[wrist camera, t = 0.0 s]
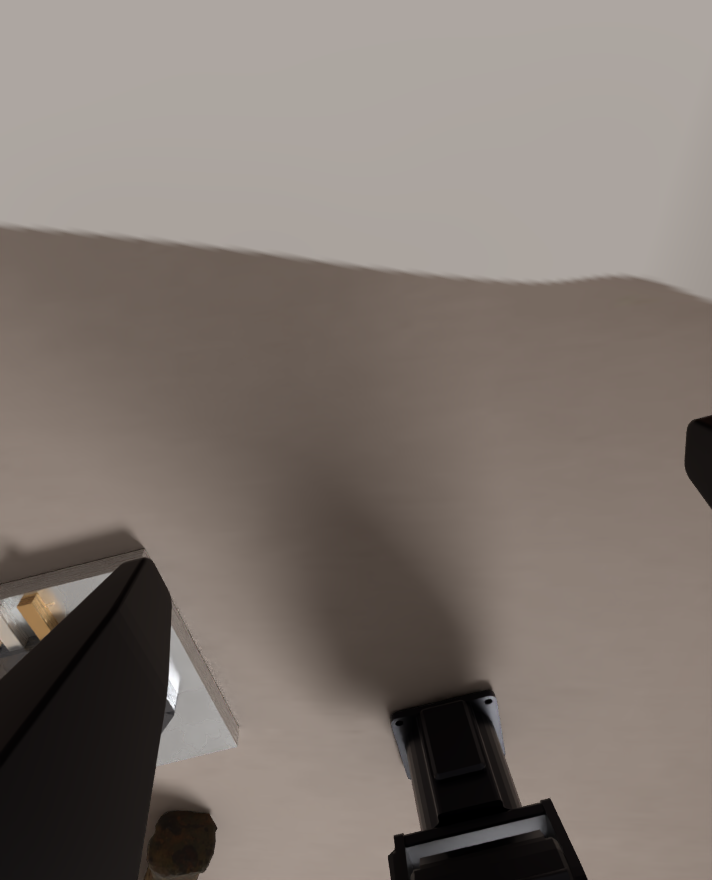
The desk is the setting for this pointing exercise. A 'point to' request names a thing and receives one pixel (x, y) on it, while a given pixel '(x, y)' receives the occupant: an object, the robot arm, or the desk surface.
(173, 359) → the desk surface
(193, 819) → the hand tool
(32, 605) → the plate
